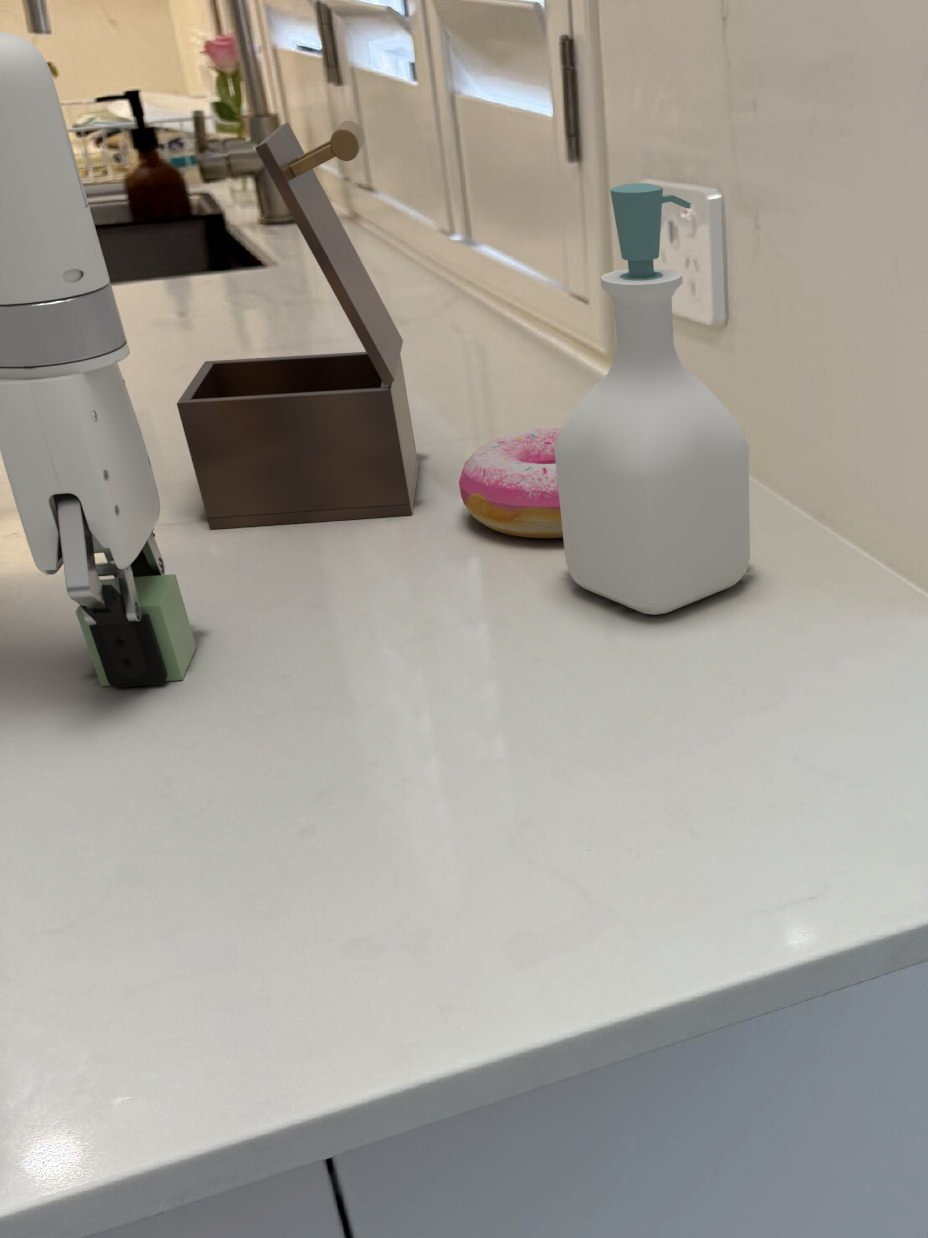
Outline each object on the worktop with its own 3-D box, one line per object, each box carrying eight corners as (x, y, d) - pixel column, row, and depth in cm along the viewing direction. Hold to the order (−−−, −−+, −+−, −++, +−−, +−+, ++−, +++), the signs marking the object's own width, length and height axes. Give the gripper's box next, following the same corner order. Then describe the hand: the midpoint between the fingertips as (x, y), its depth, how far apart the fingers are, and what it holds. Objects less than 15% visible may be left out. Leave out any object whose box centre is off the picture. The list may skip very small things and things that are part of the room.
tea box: (209, 529, 96) (176, 403, 91) (234, 478, 105) (204, 361, 100) (412, 515, 98) (390, 390, 92) (418, 466, 107) (399, 349, 101)
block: (101, 687, 76) (75, 611, 73) (118, 653, 80) (94, 579, 77) (182, 680, 77) (160, 604, 74) (196, 647, 80) (175, 574, 77)
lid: (254, 148, 83) (333, 107, 82) (278, 127, 92) (348, 90, 91) (384, 385, 92) (456, 351, 91) (394, 345, 101) (459, 313, 100)
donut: (518, 478, 104) (510, 412, 101) (675, 493, 100) (672, 425, 97) (432, 538, 94) (420, 466, 91) (603, 557, 90) (597, 484, 87)
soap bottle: (763, 585, 86) (761, 181, 72) (653, 631, 80) (627, 205, 66) (664, 548, 91) (643, 167, 77) (555, 589, 86) (512, 188, 72)
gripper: (13, 298, 73) (115, 611, 84) (-92, 378, 60) (45, 737, 71) (153, 291, 74) (235, 602, 85) (79, 368, 61) (188, 725, 72)
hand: (148, 660), depth 78 cm, fingers closed on block, 4 cm apart
